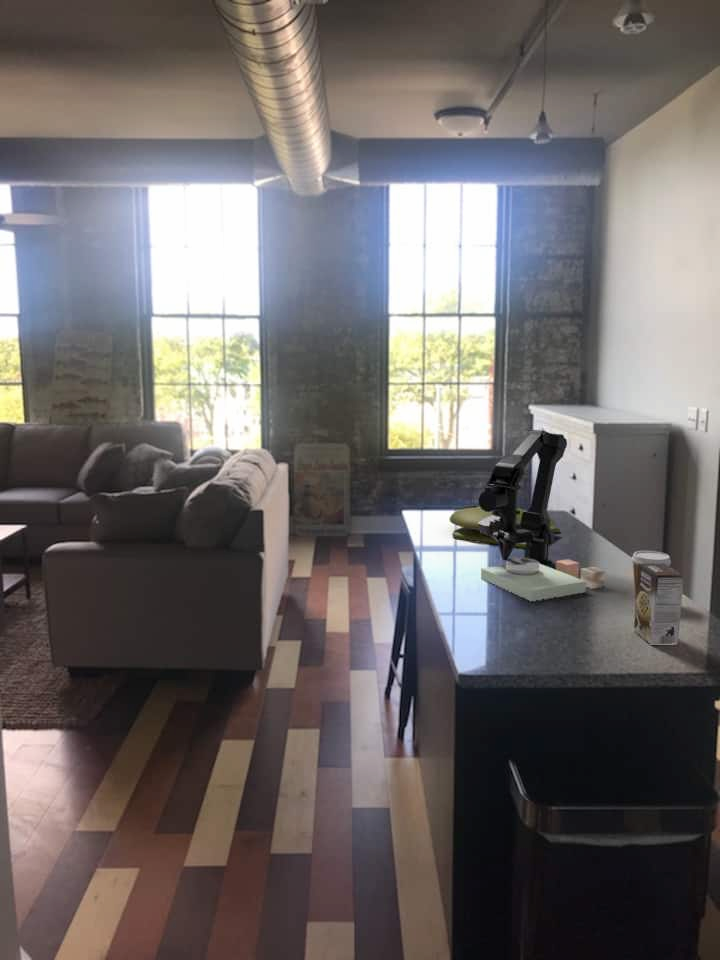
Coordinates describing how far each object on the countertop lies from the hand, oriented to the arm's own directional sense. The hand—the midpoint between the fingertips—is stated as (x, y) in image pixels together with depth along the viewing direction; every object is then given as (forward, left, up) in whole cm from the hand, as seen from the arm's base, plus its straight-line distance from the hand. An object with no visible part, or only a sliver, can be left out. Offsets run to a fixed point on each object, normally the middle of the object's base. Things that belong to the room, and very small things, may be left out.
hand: (504, 560), depth 217 cm
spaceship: (-28, -41, -5) cm, 50 cm away
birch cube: (-15, +19, -4) cm, 25 cm away
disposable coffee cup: (-19, +35, -4) cm, 40 cm away
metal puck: (0, +8, -1) cm, 8 cm away
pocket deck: (0, +12, -4) cm, 13 cm away
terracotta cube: (-14, +10, -4) cm, 18 cm away
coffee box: (0, +55, -4) cm, 55 cm away
